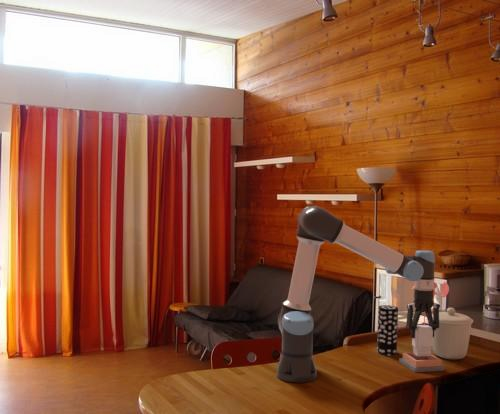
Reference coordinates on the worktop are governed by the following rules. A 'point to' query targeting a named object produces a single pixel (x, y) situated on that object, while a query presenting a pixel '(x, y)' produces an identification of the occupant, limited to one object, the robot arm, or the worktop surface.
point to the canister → (452, 335)
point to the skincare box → (423, 341)
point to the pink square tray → (421, 362)
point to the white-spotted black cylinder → (387, 330)
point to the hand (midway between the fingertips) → (422, 345)
